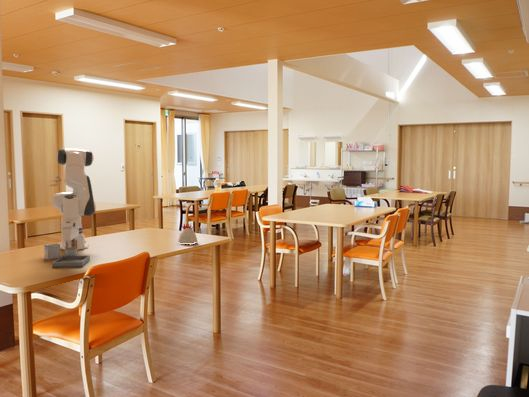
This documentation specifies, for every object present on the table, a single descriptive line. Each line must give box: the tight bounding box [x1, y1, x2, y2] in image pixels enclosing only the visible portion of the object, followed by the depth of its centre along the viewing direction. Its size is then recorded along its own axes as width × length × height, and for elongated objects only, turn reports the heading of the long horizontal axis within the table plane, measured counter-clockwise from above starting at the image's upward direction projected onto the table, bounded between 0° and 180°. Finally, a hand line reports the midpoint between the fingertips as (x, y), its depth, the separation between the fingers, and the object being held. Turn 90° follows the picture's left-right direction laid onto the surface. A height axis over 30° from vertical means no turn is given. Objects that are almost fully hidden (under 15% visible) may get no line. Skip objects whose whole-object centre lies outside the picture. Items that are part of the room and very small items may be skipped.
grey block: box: [64, 246, 78, 256], centre depth 280 cm, size 7×7×8 cm
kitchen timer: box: [177, 223, 198, 243], centre depth 337 cm, size 14×14×15 cm
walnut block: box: [66, 240, 77, 250], centre depth 267 cm, size 5×5×5 cm
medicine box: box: [43, 242, 61, 260], centre depth 283 cm, size 8×4×9 cm, turn 141°
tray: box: [51, 255, 91, 269], centre depth 268 cm, size 18×16×3 cm
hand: (71, 246), depth 267 cm, fingers closed on walnut block, 5 cm apart
